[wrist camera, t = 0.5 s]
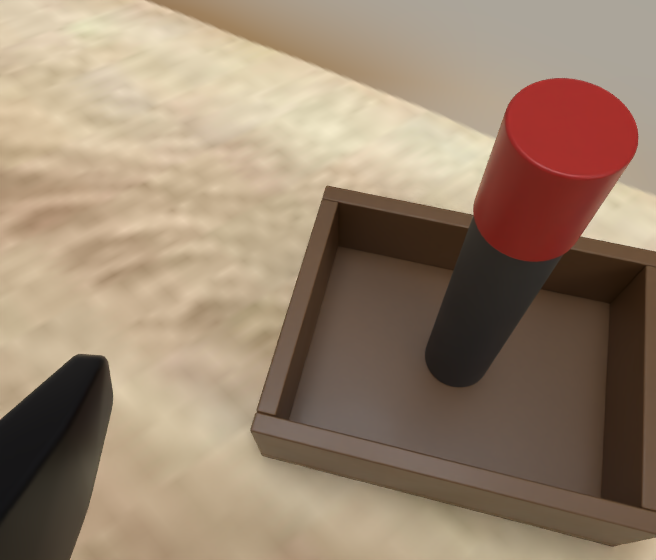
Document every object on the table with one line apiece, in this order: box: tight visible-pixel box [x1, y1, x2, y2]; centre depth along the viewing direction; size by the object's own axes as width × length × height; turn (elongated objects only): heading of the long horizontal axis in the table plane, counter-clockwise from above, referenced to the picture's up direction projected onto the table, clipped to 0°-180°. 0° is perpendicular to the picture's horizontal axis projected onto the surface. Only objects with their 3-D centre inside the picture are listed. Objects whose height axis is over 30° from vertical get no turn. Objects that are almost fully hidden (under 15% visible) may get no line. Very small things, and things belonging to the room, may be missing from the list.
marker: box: [425, 78, 638, 387], centre depth 19 cm, size 3×3×14 cm
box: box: [250, 186, 656, 546], centre depth 24 cm, size 10×13×4 cm
